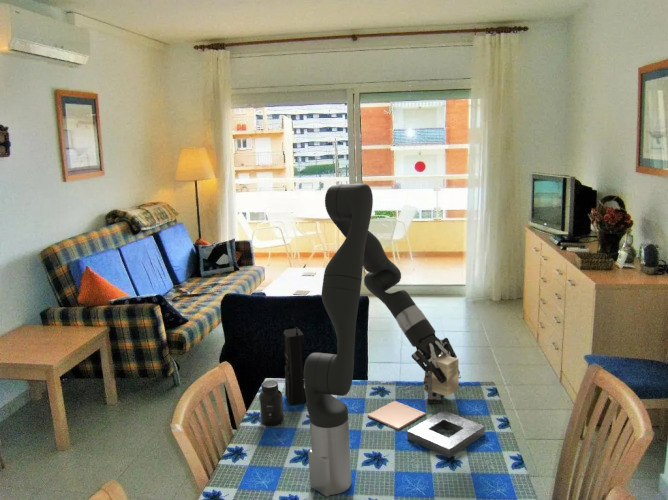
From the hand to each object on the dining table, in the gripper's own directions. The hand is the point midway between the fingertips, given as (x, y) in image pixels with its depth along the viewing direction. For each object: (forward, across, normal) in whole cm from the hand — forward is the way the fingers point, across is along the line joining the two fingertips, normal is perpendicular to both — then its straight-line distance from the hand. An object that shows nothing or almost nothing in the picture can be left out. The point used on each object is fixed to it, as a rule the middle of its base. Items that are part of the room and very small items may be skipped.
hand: (450, 378), depth 159 cm
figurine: (+1, +18, +25) cm, 31 cm away
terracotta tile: (-1, 0, +27) cm, 27 cm away
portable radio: (-23, -13, +49) cm, 55 cm away
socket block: (+11, 0, +14) cm, 18 cm away
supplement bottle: (-19, -27, +44) cm, 55 cm away
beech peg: (+2, 0, +4) cm, 5 cm away
